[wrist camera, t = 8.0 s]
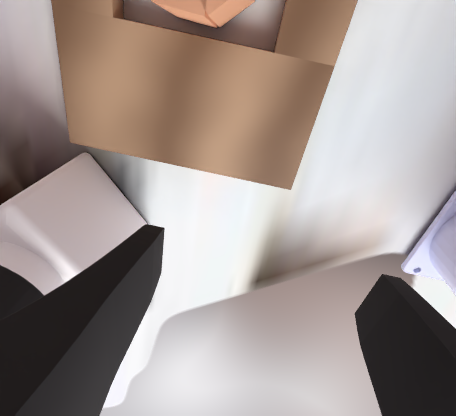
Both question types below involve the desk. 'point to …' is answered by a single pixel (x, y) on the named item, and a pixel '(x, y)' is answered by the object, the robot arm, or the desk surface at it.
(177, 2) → the hollow octagonal tube
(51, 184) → the medicine bottle
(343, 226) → the desk surface
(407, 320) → the robot arm
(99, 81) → the wooden u-shaped block
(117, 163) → the desk surface
